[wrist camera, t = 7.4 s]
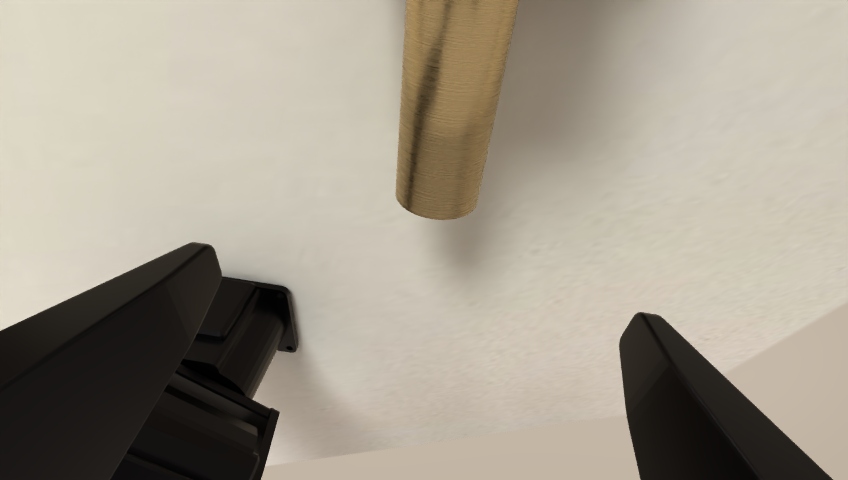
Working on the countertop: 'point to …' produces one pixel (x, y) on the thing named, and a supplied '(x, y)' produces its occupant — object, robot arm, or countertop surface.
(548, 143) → the countertop surface
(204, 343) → the robot arm
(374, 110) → the countertop surface
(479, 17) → the tube
